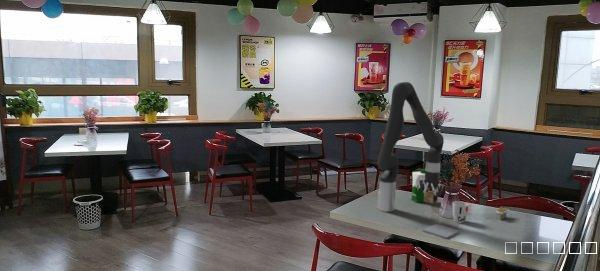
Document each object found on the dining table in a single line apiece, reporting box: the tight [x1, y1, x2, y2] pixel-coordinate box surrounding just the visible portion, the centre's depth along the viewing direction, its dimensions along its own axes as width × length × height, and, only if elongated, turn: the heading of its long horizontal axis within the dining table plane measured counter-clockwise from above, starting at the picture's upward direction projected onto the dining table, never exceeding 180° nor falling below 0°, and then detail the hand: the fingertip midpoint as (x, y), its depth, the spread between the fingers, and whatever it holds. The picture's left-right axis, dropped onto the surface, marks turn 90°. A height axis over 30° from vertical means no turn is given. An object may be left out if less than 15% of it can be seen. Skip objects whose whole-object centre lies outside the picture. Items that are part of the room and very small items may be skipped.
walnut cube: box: [423, 190, 438, 204], centre depth 234 cm, size 5×5×5 cm
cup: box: [452, 201, 470, 224], centre depth 235 cm, size 8×8×10 cm
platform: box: [496, 206, 510, 221], centre depth 241 cm, size 12×18×7 cm, turn 135°
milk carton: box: [411, 168, 426, 204], centre depth 270 cm, size 9×9×20 cm
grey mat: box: [422, 223, 461, 240], centre depth 219 cm, size 13×13×1 cm
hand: (430, 200), depth 234 cm, fingers closed on walnut cube, 5 cm apart
